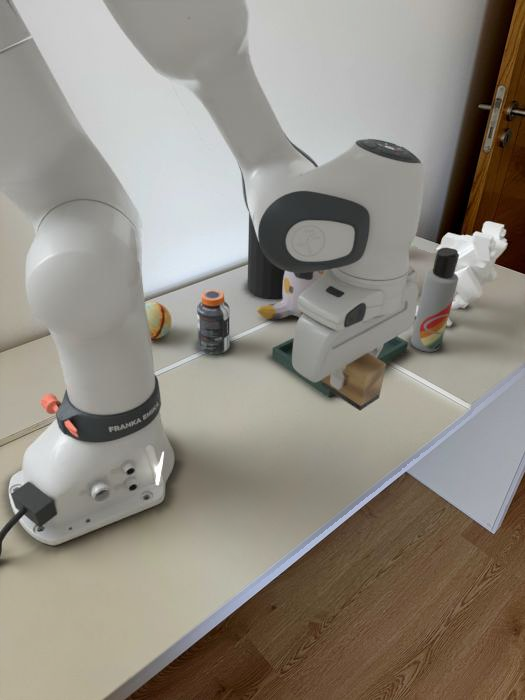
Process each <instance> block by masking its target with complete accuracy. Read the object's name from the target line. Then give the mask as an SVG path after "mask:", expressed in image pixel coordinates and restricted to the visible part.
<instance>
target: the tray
mask: <svg viewBox="0 0 525 700" xmlns="http://www.w3.org/2000/svg"><path fill="white" fill-rule="evenodd" d="M293 341H294V337H293V338H290V339H288V340H287V341H284V342H281V343H280V344H278V345H276V346H274V347H272V351H271V352H272V353H271V358H272V360H275V361H276V362H277V363H279V364H280V365H282V366H283V367H285V368H286V369H288V370H289V371H290V372H292V373H293V374H295V375H296V376H298V377H299V378H300V379H302V380H303V381H305V382H306V383H308V384H309V385H311V386H312V387H314V388H315V389H317V390H318V391H319V392H320V393H322V394H323V395H325V396H326V397H328V398H330V397H332V396H333V395H335V394H334V393H332V392H331V391H329V390H328V389H326V388H325V387H323V386H322V385H321V381H322V380H320V381H318V382H312V381H310V380H308V379H307V378H305V377H304V376H302V375H301V374H299V373H298V372H297V371H296V370H295V369H294V367H293V365H292V351H293ZM408 346H409V341H407V340H405V339H403V338H401V337H399V336H396V337H395V338H393V339H391V340H389V341H388V342H386V343H384V344H383V348H382V350H381V351H380V353H379V355H378V356H377V359H379V360H381V361H382V362H384V363H386V365H387V364H389V363H390V362H391V361H393V360H395V359H397V358H398V357H400V356H402V355H404V354H405V353H407V351H408Z"/></svg>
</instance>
